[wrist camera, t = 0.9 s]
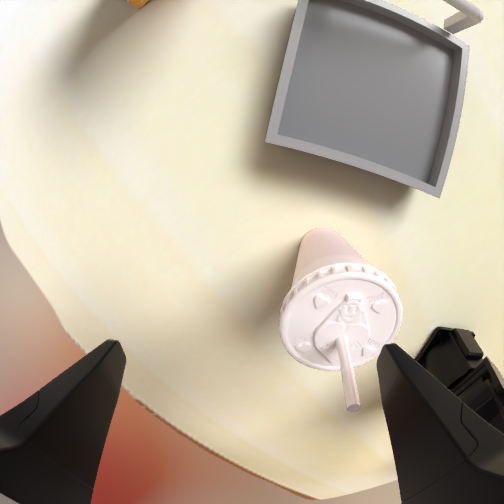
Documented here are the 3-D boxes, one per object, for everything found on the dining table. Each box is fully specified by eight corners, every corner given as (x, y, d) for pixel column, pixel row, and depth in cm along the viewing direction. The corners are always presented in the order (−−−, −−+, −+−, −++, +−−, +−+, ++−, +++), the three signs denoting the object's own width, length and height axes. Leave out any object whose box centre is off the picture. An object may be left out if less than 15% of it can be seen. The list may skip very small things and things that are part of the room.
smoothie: (277, 280, 23) (264, 435, 10) (287, 204, 20) (287, 331, 8) (352, 288, 23) (395, 434, 10) (369, 215, 20) (463, 337, 7)
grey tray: (418, 187, 19) (474, 218, 11) (268, 140, 19) (258, 145, 12) (447, 45, 13) (503, 25, 6) (303, -10, 13) (310, -67, 6)
